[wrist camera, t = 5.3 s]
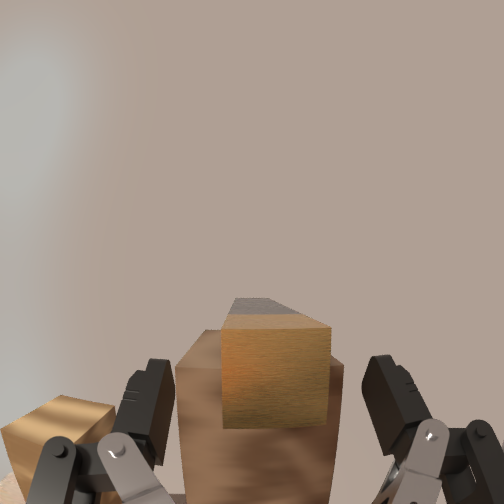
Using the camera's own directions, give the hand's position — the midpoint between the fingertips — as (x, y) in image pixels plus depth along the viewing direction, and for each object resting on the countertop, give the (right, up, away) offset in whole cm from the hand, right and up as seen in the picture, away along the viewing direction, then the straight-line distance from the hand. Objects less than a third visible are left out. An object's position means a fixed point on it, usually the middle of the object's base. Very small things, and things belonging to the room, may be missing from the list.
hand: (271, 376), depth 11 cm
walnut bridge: (-1, -34, +10) cm, 35 cm away
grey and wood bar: (0, -2, +10) cm, 10 cm away
